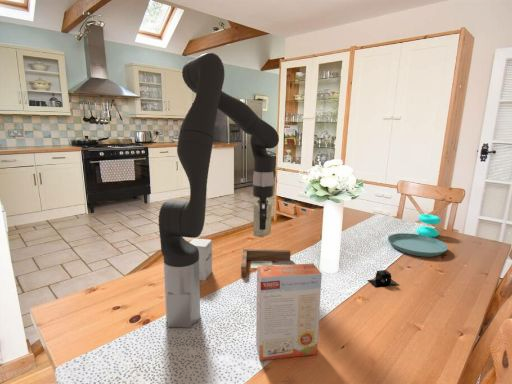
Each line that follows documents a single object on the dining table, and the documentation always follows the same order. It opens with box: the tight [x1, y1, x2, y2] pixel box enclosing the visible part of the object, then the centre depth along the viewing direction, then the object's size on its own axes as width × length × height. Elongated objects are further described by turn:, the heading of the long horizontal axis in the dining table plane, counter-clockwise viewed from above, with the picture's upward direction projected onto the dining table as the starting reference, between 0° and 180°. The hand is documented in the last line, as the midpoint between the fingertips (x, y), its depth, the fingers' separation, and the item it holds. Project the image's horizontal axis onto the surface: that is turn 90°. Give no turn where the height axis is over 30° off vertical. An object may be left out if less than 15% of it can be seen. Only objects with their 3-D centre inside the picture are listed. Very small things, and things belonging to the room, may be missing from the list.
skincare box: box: [252, 202, 273, 239], centre depth 114 cm, size 6×4×12 cm
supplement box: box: [188, 237, 213, 282], centre depth 107 cm, size 7×7×13 cm
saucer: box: [387, 232, 448, 258], centre depth 138 cm, size 24×24×3 cm
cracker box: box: [255, 263, 322, 361], centre depth 71 cm, size 14×6×21 cm, turn 99°
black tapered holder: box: [366, 269, 401, 289], centre depth 106 cm, size 12×7×5 cm, turn 102°
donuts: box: [416, 213, 442, 238], centre depth 156 cm, size 10×10×10 cm
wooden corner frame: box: [240, 248, 292, 278], centre depth 115 cm, size 16×19×4 cm
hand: (262, 226), depth 114 cm, fingers closed on skincare box, 7 cm apart
